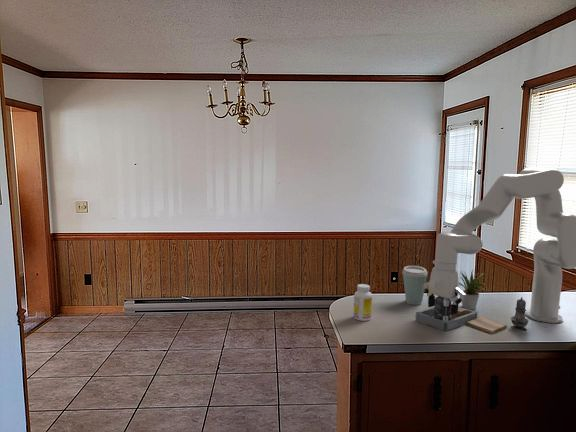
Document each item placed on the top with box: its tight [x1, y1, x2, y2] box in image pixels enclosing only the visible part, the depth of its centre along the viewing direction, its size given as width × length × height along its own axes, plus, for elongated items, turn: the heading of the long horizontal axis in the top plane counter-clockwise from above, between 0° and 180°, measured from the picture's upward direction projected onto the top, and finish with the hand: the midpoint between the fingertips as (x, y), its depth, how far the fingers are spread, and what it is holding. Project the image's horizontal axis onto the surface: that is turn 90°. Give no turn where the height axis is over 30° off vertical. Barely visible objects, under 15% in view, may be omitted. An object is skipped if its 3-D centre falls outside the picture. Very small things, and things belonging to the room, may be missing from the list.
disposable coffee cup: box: [401, 265, 429, 306], centre depth 182 cm, size 11×11×15 cm
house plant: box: [458, 268, 486, 310], centre depth 177 cm, size 14×14×16 cm
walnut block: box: [450, 306, 467, 320], centre depth 165 cm, size 4×4×4 cm
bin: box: [415, 303, 478, 332], centre depth 163 cm, size 20×13×3 cm, turn 126°
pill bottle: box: [433, 296, 452, 322], centre depth 161 cm, size 6×6×11 cm
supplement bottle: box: [353, 283, 373, 322], centre depth 162 cm, size 7×7×13 cm
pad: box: [465, 316, 508, 335], centre depth 158 cm, size 10×10×1 cm
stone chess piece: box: [510, 296, 530, 332], centre depth 156 cm, size 6×6×12 cm
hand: (442, 310), depth 161 cm, fingers open, 9 cm apart
